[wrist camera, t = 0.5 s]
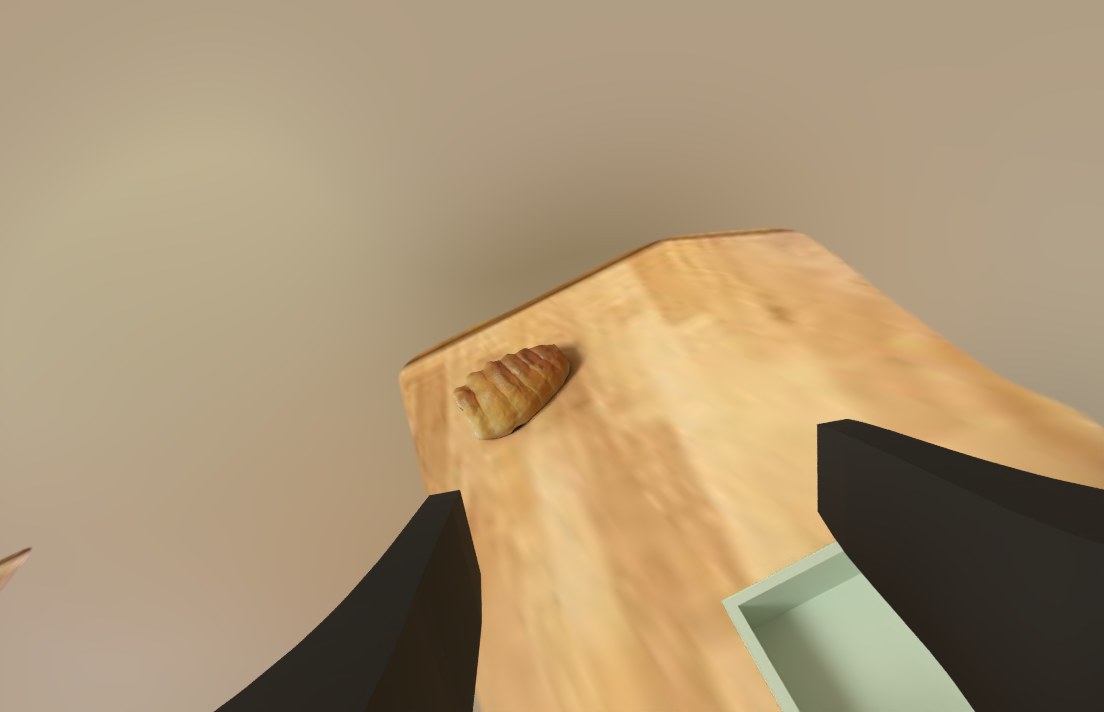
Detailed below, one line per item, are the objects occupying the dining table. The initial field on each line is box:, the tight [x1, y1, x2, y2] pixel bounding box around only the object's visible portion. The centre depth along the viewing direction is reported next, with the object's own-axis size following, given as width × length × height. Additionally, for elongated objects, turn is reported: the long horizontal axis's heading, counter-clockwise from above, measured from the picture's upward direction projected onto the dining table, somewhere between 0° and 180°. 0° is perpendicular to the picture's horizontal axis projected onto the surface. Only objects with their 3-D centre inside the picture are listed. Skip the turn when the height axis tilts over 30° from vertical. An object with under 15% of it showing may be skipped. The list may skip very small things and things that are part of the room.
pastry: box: [453, 344, 570, 440], centre depth 45 cm, size 9×7×4 cm
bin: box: [722, 541, 975, 712], centre depth 21 cm, size 9×9×3 cm
